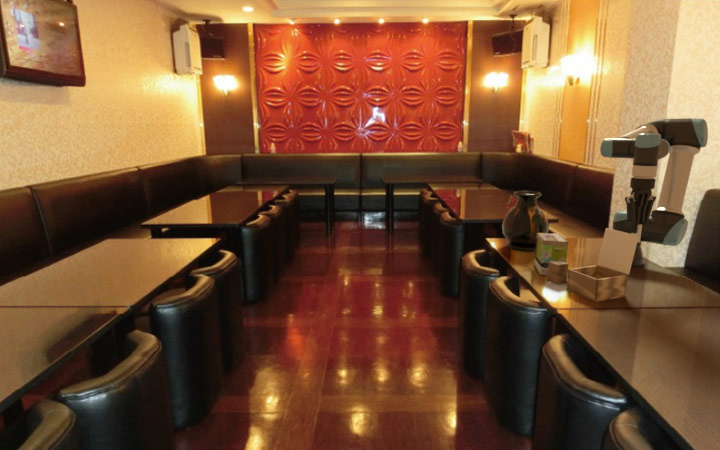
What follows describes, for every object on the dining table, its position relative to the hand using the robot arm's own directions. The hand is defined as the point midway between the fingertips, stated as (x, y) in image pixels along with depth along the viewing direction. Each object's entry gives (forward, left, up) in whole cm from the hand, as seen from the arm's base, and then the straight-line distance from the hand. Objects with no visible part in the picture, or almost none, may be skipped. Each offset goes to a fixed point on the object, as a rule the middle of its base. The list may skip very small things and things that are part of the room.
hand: (635, 241), depth 167 cm
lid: (+9, 0, -3) cm, 9 cm away
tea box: (+13, -28, -18) cm, 35 cm away
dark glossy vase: (-1, -61, -18) cm, 63 cm away
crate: (+17, 0, -18) cm, 24 cm away
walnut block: (+21, -15, -18) cm, 31 cm away
